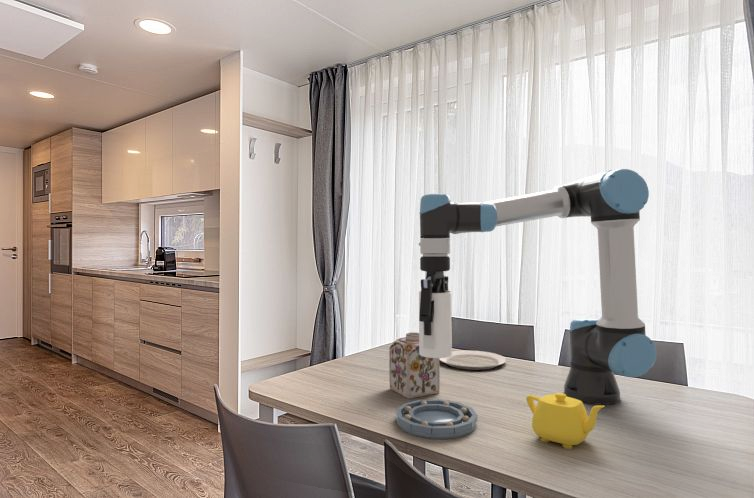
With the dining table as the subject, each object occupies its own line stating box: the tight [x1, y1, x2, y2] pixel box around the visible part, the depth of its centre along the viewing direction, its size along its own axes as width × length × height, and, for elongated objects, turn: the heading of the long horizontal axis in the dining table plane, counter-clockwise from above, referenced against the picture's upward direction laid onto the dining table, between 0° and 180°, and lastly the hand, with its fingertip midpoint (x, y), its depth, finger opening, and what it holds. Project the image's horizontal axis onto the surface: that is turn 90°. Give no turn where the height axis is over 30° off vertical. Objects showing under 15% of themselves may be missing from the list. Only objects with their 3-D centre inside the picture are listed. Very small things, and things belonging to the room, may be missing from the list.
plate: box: [439, 349, 507, 371], centre depth 178 cm, size 26×26×2 cm
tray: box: [395, 398, 478, 440], centre depth 118 cm, size 20×20×3 cm
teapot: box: [526, 392, 606, 450], centre depth 107 cm, size 18×11×11 cm, turn 46°
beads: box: [404, 401, 469, 426], centre depth 118 cm, size 17×17×2 cm
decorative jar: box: [388, 332, 441, 400], centre depth 143 cm, size 12×12×18 cm
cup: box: [418, 290, 453, 358], centre depth 118 cm, size 8×8×16 cm
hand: (435, 344), depth 118 cm, fingers closed on cup, 8 cm apart
